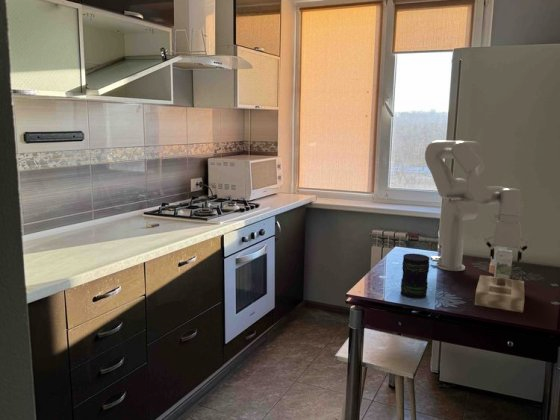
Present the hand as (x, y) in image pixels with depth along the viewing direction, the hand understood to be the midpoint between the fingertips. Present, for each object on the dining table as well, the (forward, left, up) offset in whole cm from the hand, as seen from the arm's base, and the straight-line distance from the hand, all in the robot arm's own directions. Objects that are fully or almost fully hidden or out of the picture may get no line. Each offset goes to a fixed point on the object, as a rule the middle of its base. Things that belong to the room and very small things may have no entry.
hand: (505, 259), depth 207 cm
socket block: (-1, -20, -11) cm, 22 cm away
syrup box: (-1, 0, -11) cm, 11 cm away
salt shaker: (-3, +19, -11) cm, 22 cm away
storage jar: (-31, -32, -11) cm, 45 cm away
